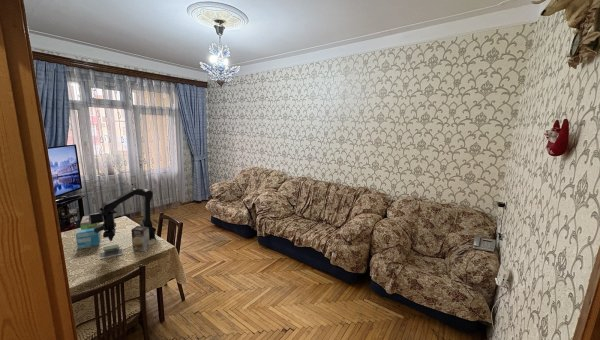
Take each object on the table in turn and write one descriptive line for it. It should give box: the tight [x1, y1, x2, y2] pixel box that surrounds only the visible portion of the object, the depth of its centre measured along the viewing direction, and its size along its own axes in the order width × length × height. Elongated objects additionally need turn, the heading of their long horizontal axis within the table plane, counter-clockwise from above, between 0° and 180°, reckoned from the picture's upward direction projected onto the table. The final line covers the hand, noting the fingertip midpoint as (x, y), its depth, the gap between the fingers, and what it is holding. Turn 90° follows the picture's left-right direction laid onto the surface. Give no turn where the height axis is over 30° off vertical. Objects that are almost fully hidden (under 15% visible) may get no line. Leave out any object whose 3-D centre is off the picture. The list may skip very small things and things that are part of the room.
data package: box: [75, 228, 100, 249], centre depth 180 cm, size 12×4×12 cm, turn 126°
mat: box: [99, 247, 123, 261], centre depth 173 cm, size 12×10×1 cm
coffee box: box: [131, 225, 151, 252], centre depth 180 cm, size 9×6×16 cm
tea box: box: [79, 215, 101, 235], centre depth 193 cm, size 15×10×15 cm
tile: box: [102, 244, 120, 252], centre depth 174 cm, size 8×2×9 cm
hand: (111, 240), depth 176 cm, fingers closed
